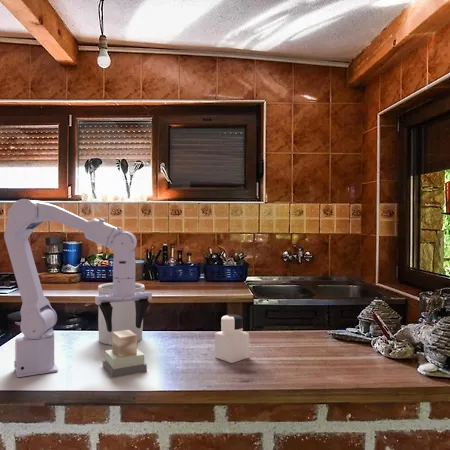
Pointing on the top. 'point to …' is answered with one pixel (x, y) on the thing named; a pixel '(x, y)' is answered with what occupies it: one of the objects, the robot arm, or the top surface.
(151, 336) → the top surface
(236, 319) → the medicine bottle
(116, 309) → the utensil holder
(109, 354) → the tower top
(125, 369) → the tower base
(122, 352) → the birch block
